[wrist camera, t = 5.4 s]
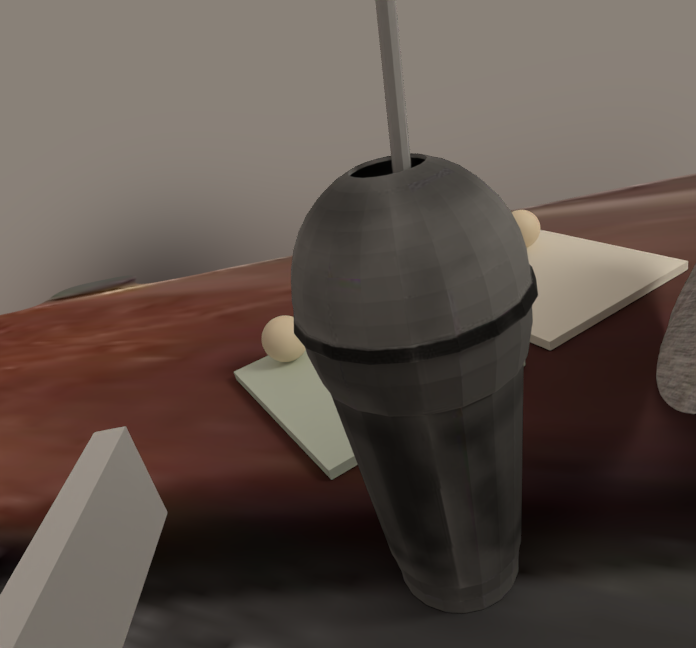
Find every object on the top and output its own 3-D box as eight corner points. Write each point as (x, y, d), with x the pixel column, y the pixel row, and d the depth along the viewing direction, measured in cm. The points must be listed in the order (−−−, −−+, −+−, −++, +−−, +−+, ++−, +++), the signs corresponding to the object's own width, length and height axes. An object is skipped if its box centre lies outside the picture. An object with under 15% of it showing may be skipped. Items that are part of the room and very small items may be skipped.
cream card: (536, 235, 49) (534, 194, 48) (687, 269, 39) (690, 217, 37) (415, 293, 44) (407, 249, 43) (550, 350, 34) (546, 295, 32)
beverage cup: (328, 588, 23) (137, 22, 14) (430, 471, 27) (336, -13, 18) (500, 694, 18) (381, -63, 9) (589, 531, 22) (568, -82, 13)
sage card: (394, 303, 43) (385, 259, 42) (525, 365, 33) (520, 309, 31) (236, 379, 39) (219, 332, 37) (331, 480, 28) (313, 420, 26)
